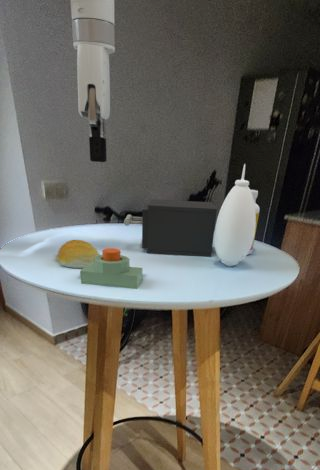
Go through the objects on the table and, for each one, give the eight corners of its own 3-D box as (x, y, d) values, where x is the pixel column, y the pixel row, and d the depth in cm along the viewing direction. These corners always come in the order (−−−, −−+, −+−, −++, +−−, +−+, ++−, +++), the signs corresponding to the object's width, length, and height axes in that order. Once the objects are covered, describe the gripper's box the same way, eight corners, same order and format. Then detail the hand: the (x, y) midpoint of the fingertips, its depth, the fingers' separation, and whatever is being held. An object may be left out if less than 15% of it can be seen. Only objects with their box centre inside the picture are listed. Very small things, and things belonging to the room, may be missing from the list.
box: (80, 284, 63) (78, 260, 61) (90, 274, 68) (88, 251, 66) (136, 289, 62) (136, 265, 60) (142, 279, 67) (143, 256, 65)
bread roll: (57, 269, 70) (54, 247, 67) (59, 257, 77) (57, 236, 74) (101, 269, 71) (99, 247, 69) (99, 257, 78) (98, 236, 76)
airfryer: (147, 253, 83) (148, 205, 77) (149, 243, 91) (150, 198, 85) (211, 256, 83) (216, 208, 77) (207, 246, 91) (212, 202, 85)
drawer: (123, 247, 83) (122, 208, 78) (127, 238, 90) (127, 202, 85) (201, 251, 83) (205, 212, 78) (198, 242, 90) (202, 206, 85)
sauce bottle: (204, 261, 79) (215, 161, 68) (234, 259, 82) (249, 162, 71) (223, 271, 73) (239, 164, 63) (255, 268, 76) (275, 165, 66)
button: (100, 262, 62) (100, 251, 61) (105, 258, 64) (105, 247, 63) (118, 263, 62) (117, 253, 61) (122, 259, 64) (122, 248, 63)
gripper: (81, 46, 72) (87, 159, 83) (63, 26, 60) (73, 161, 71) (119, 48, 72) (120, 161, 83) (109, 30, 60) (111, 164, 71)
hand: (98, 161), depth 77 cm, fingers closed
